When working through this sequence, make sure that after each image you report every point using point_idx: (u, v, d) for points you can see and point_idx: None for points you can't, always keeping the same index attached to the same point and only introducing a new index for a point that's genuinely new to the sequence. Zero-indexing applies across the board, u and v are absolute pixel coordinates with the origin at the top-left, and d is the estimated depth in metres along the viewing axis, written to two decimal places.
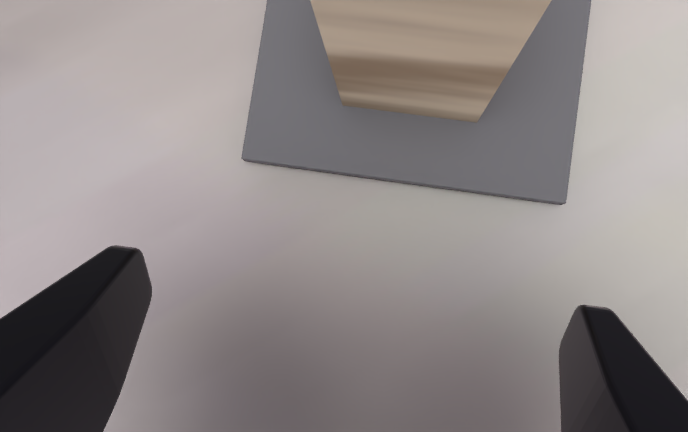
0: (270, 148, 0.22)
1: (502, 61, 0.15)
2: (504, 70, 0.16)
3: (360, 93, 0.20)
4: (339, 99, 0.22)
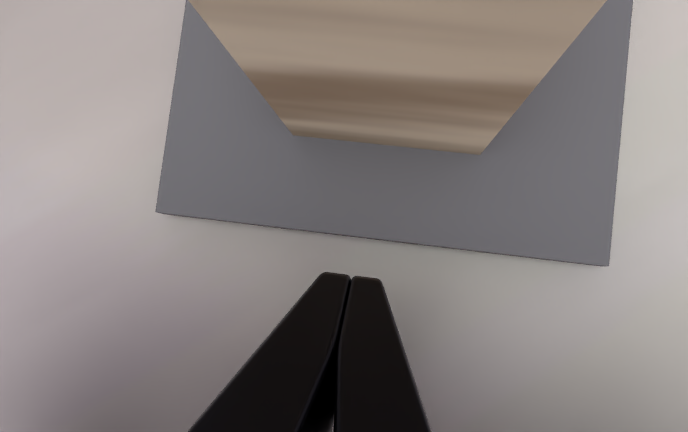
0: (195, 197, 0.16)
1: (524, 75, 0.09)
2: (526, 89, 0.10)
3: (311, 121, 0.14)
4: None
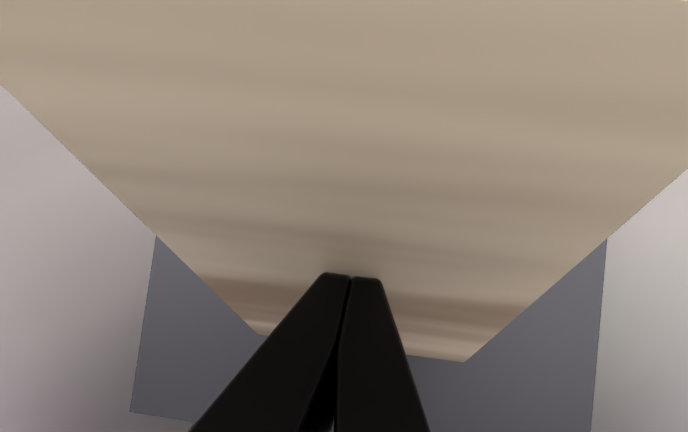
0: (170, 397, 0.16)
1: (514, 297, 0.08)
2: (516, 309, 0.08)
3: (277, 324, 0.12)
4: None
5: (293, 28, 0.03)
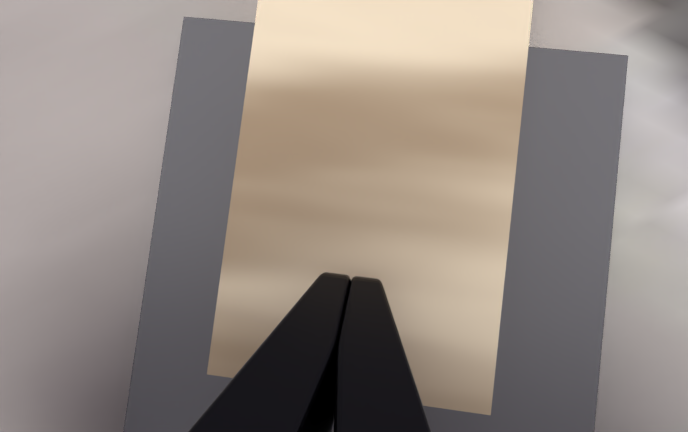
0: None
1: (512, 47, 0.10)
2: (518, 84, 0.10)
3: (262, 276, 0.10)
4: None
5: None
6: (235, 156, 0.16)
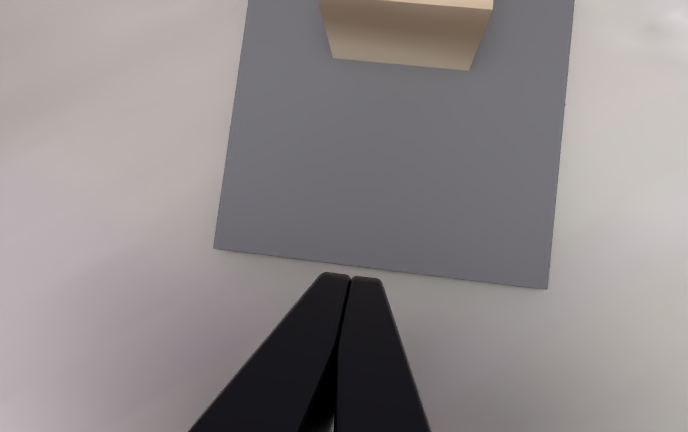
0: (243, 237, 0.21)
1: None
2: None
3: None
4: (312, 185, 0.21)
5: None
6: None
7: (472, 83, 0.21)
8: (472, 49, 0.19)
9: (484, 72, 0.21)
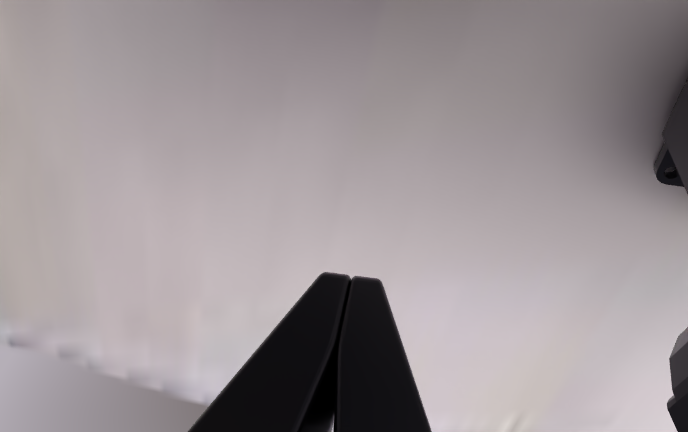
0: None
1: None
2: None
3: None
4: None
5: None
6: None
7: None
8: None
9: None
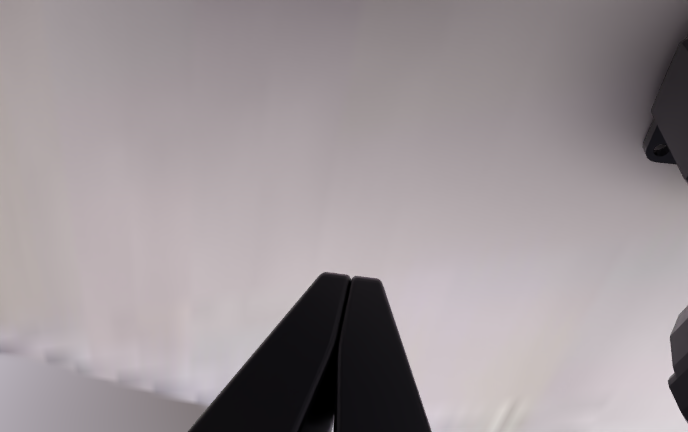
0: None
1: None
2: None
3: None
4: None
5: None
6: None
7: None
8: None
9: None
